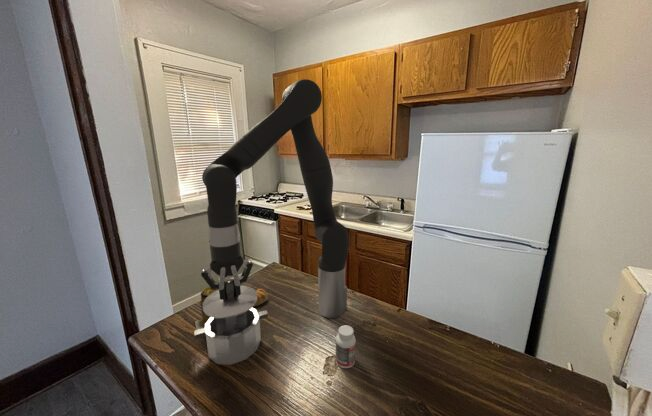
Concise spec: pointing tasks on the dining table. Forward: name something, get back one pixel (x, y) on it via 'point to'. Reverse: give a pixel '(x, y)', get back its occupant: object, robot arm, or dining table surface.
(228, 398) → the dining table surface
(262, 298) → the pastry
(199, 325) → the condiment
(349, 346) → the pill bottle
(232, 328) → the pot
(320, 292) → the robot arm
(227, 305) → the lid
